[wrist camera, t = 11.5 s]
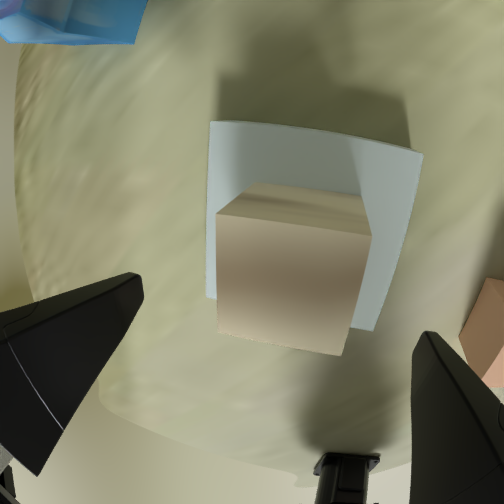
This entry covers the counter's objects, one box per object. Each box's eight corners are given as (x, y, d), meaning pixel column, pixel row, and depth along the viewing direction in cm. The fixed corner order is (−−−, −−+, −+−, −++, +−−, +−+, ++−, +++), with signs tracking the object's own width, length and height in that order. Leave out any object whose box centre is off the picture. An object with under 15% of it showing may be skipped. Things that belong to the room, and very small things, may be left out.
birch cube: (343, 289, 15) (341, 356, 11) (251, 274, 16) (217, 332, 12) (361, 196, 13) (372, 236, 9) (255, 181, 14) (215, 213, 10)
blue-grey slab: (369, 302, 18) (373, 331, 16) (222, 273, 20) (205, 297, 18) (408, 147, 14) (423, 154, 11) (230, 119, 16) (210, 121, 13)
